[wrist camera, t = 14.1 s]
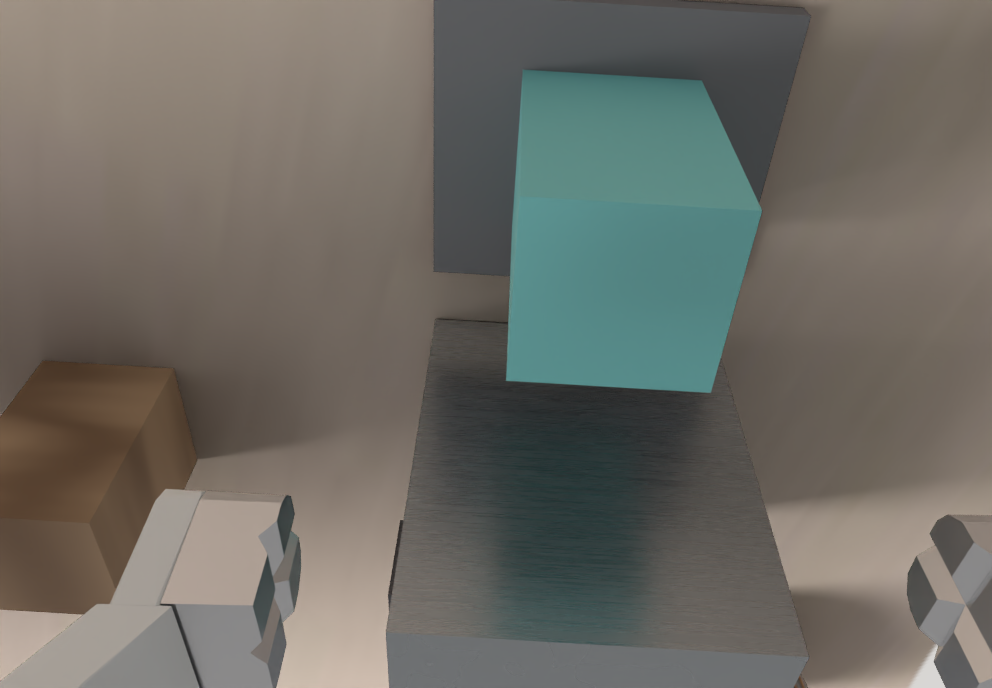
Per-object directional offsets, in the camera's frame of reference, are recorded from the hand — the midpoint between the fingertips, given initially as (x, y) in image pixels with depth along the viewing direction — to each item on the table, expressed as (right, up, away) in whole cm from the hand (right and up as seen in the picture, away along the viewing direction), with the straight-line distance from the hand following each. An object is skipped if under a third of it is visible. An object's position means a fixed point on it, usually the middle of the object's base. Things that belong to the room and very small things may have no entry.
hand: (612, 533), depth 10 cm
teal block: (+1, +7, +9) cm, 11 cm away
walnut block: (-13, 0, +16) cm, 21 cm away
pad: (+1, +7, +9) cm, 12 cm away
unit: (+1, 0, +15) cm, 15 cm away
